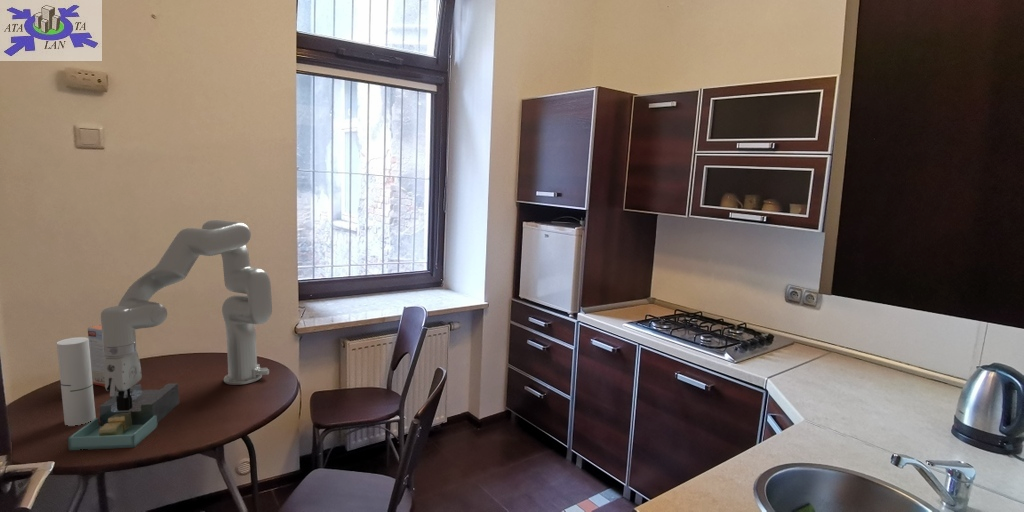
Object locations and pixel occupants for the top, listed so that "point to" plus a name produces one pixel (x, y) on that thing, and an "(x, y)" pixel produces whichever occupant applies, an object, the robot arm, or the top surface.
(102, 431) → the yellow cube
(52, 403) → the top surface
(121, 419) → the yellow wedge block
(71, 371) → the cylindrical container
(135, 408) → the tray
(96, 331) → the cracker box
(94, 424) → the tray
